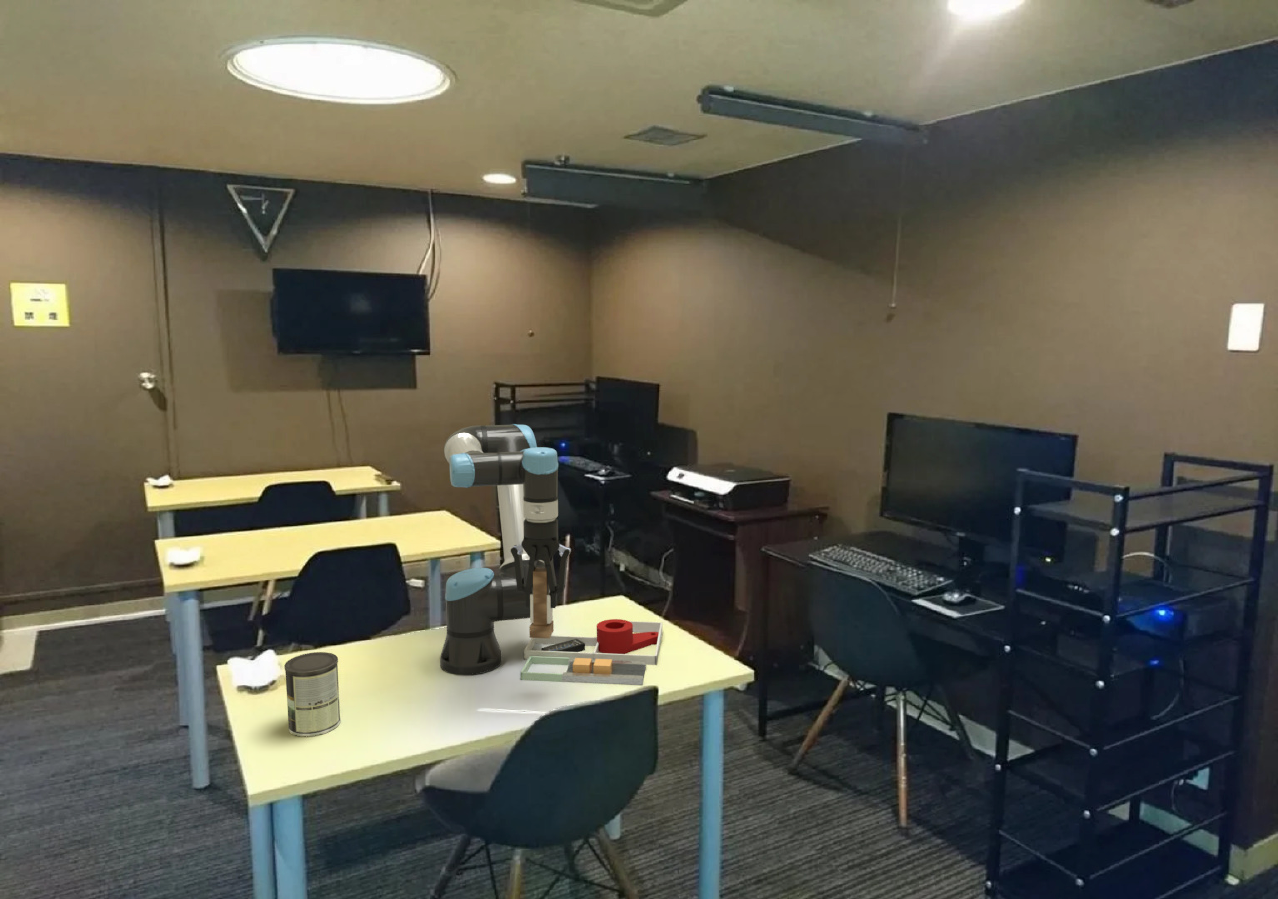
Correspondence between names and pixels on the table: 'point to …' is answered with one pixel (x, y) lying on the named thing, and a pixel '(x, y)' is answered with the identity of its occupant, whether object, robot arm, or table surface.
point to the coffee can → (312, 693)
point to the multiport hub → (566, 646)
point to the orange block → (602, 666)
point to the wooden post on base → (540, 606)
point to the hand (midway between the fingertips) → (541, 620)
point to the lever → (622, 637)
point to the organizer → (597, 646)
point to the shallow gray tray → (620, 674)
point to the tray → (543, 676)
